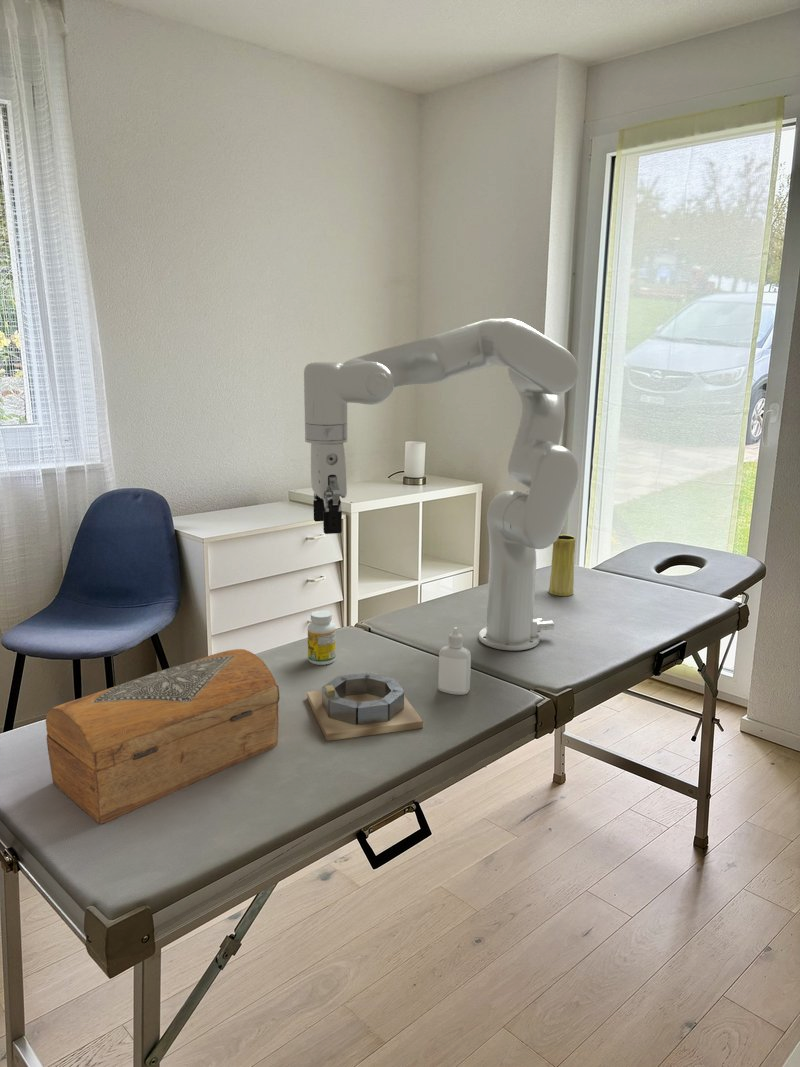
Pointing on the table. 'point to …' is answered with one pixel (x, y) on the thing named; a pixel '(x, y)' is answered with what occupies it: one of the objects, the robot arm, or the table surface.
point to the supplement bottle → (321, 638)
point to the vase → (562, 566)
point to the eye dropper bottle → (454, 666)
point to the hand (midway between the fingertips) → (327, 526)
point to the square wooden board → (343, 730)
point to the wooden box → (161, 732)
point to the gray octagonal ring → (362, 710)
